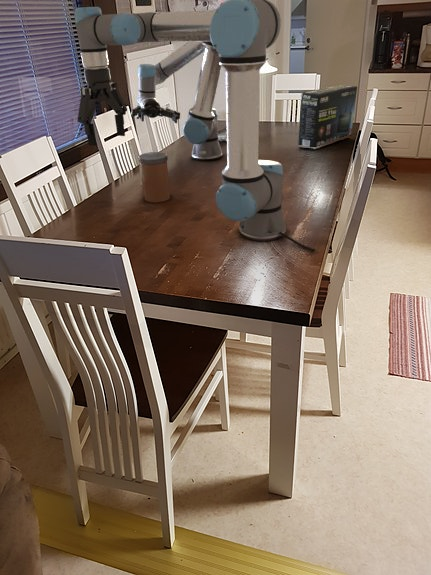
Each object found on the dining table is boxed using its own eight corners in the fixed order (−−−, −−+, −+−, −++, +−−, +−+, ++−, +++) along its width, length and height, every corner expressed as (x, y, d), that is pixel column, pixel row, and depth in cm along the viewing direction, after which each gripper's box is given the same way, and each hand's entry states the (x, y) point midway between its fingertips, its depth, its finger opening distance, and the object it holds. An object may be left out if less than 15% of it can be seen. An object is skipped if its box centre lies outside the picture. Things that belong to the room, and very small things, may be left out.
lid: (149, 155, 180) (149, 150, 179) (173, 157, 175) (172, 153, 174) (133, 162, 172) (132, 158, 171) (157, 165, 167) (157, 160, 166)
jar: (153, 192, 187) (149, 152, 179) (174, 195, 183) (171, 154, 175) (139, 200, 179) (134, 159, 171) (161, 203, 175) (156, 161, 167)
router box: (314, 151, 231) (318, 94, 217) (296, 148, 237) (299, 92, 224) (352, 138, 251) (358, 85, 238) (335, 135, 258) (340, 83, 245)
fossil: (241, 138, 244) (222, 120, 247) (230, 154, 251) (212, 137, 254) (257, 136, 258) (239, 120, 261) (247, 152, 264) (229, 136, 267)
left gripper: (177, 117, 207) (189, 129, 190) (122, 114, 200) (128, 126, 183) (179, 100, 203) (190, 111, 186) (122, 96, 196) (128, 107, 179)
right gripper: (114, 63, 147) (123, 131, 158) (55, 72, 129) (70, 148, 140) (132, 63, 144) (140, 132, 155) (75, 72, 126) (88, 150, 137)
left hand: (159, 118), depth 184 cm, fingers open, 13 cm apart
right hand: (107, 140), depth 148 cm, fingers open, 13 cm apart
